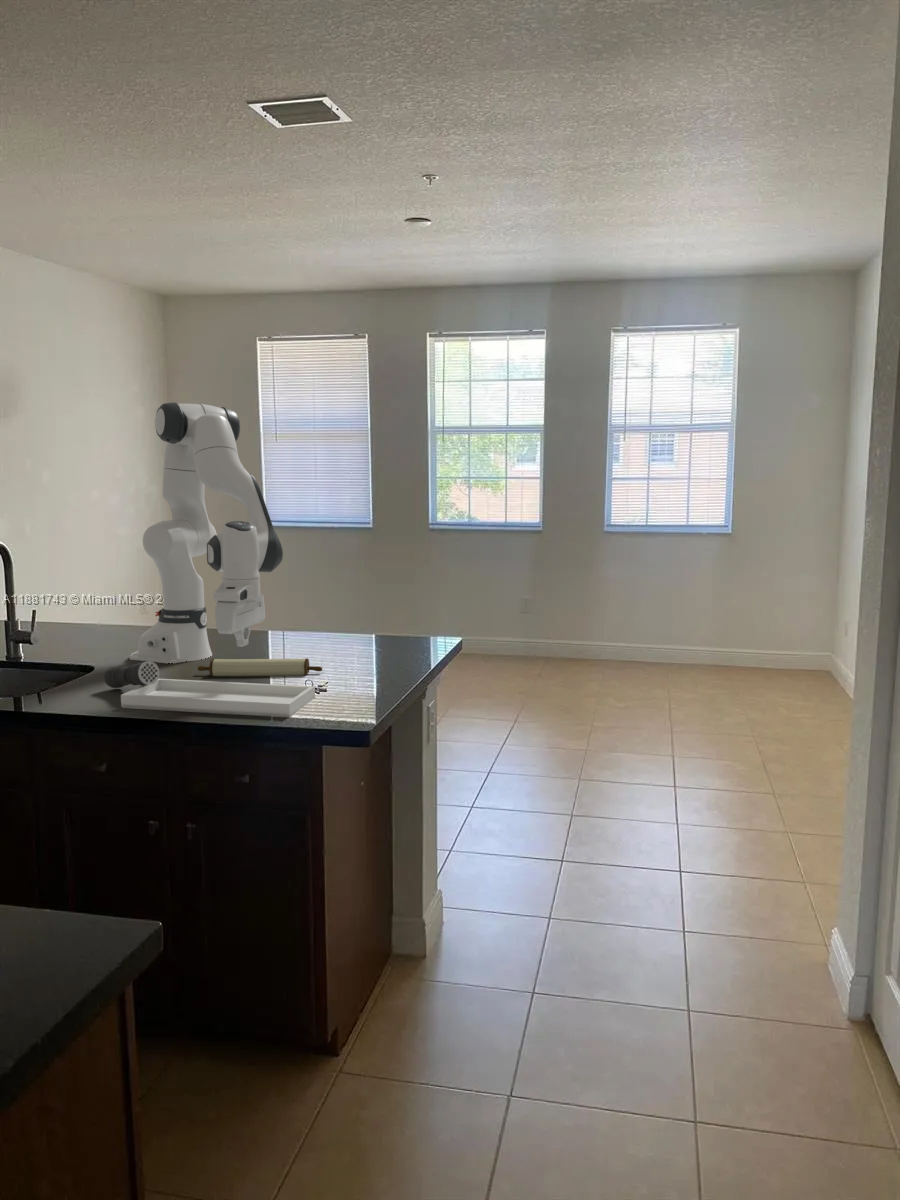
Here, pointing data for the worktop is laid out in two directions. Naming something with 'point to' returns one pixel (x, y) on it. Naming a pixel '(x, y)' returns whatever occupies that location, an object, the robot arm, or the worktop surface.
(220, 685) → the tray
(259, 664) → the rolling pin
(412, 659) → the worktop surface
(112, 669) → the flashlight
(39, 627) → the worktop surface
